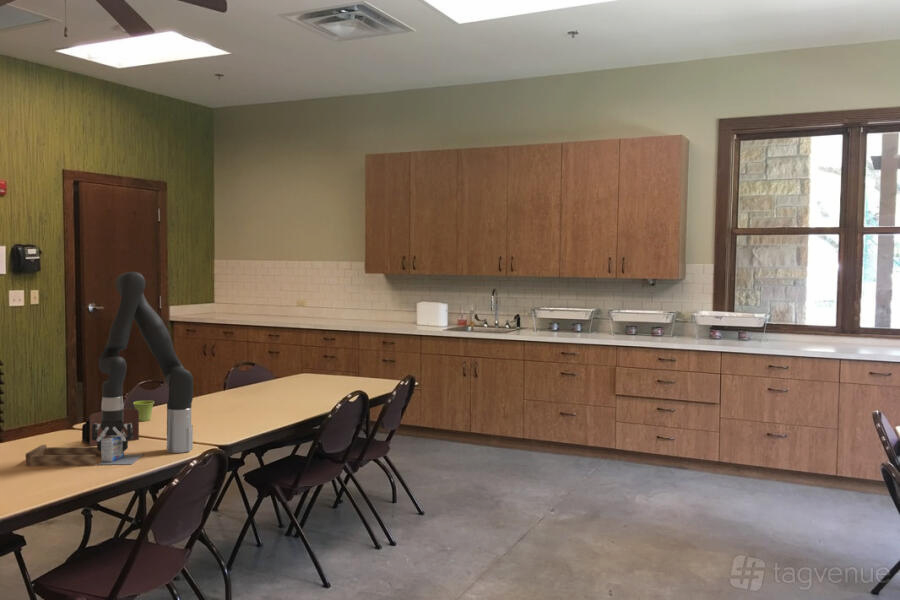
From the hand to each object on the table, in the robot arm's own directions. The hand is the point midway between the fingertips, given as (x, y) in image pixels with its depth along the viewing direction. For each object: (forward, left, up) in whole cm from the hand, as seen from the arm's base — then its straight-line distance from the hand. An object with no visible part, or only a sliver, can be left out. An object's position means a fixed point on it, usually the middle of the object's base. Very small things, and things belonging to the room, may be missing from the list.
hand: (112, 450), depth 279 cm
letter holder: (+11, -32, -4) cm, 34 cm away
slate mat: (-3, 0, -4) cm, 5 cm away
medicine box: (0, 0, -4) cm, 4 cm away
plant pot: (+10, -75, -4) cm, 76 cm away
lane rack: (+16, 0, -4) cm, 16 cm away
